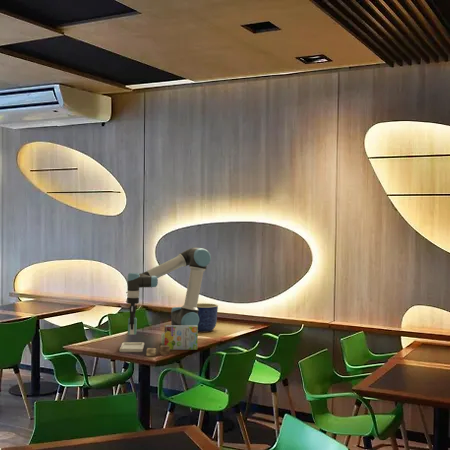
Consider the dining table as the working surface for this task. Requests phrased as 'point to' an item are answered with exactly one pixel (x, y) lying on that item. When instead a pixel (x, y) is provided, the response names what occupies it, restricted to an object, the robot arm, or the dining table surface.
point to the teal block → (134, 326)
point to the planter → (207, 316)
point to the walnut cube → (164, 350)
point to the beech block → (151, 351)
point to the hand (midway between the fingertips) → (132, 333)
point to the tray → (132, 347)
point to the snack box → (181, 337)
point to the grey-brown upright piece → (162, 338)
